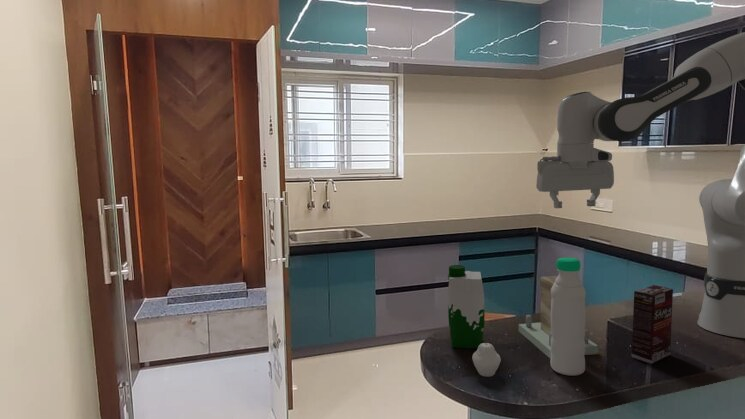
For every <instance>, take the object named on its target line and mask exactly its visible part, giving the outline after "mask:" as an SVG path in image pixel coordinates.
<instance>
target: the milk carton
mask: <svg viewBox="0 0 745 419" xmlns="http://www.w3.org/2000/svg"><path fill="white" fill-rule="evenodd" d="M465 268H466V266H465V265H460V264H458V265H457V264H454V265H449V266H448V290H447V309H448V311H447V314H448V327H449V335H450V341H451V347H452V348H455V349H456V348H459V349H461V348H462V349H478V346H479V345H480V344H482V343H483V337H484V332H485V291H484V285H483V280H482V279H483V278H482V274H481V271H470V270H466V269H465Z"/></svg>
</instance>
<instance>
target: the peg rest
mask: <svg viewBox="0 0 745 419" xmlns="http://www.w3.org/2000/svg"><path fill="white" fill-rule="evenodd" d="M532 318H533V316H532V315H531V314H526V316H525V323H518V332H519V333H520V334H521V335H522V336H523V337H524V338H526V339H527V340H528V341H529V342H530V343H531V344H533V345H534V346H535V347H536V348H537V349H539V351H541V352H542V353H543V354H544V355H546V357H548V358H549V359H551V337H552V334H551V332H550V333H549V335H548V334H546V333H545V332H544V331H543V330H541V321H540V322H532V321H533V319H532ZM589 332H590V331H589V330H588V329H585V337H584V341H585V354H584V356H589V355H598V354H599V345H598V344H596V343H595V342H593V341H591V339H590V338H589Z"/></svg>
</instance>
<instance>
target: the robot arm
mask: <svg viewBox="0 0 745 419" xmlns="http://www.w3.org/2000/svg"><path fill="white" fill-rule="evenodd" d="M736 83H738V85H739V86H740V87H741V88H742V90H744V91H745V32H741V33H737V34H734V35H731V36H728V37H726V38H724V39H721V40H719V41H717V42H715V43H712V44H710V45H709V46H707V47H705V48H703V49H702V50H699V51H698V52H696V53H694V54H692V55H691V56H689V57H688V58H687V59H686V60H684V61H683V62H682V63H680V64H679V65H678V66H677V67H676V68H675V71H674V74H673V77H672V78H670V79H669V80H667V81H666V82H663V83H662V84H660V85H658V86H656V87H654V88H652V89H650V90H649V91H647V92H645V93H643V94H640V95H638V96H634V97H631V96H630V97H624V98H619V99H615V100H614V101H612V102H611V101H608V100H605V99H603V98H601V97H597V96H596V95H594V94H593V93H591V91H580V92H576V93H573V94H569V95H567V96H565V97H563V99H561V100H560V101H559V105H558V109H557V110H558V111H557V120H556V121H557V126H556V128H557V129H556V130H557V132H558V140H557V143H556V145H557V146H556V149H557V150H556V155H555V156H543V157H542V158H540V159H539V160H538V162H537V166H536V168H537V175H536V189H537V190H538V191H539V192H542V193H546V192H548V193H549V197H550V198H551V200H552V202H553V209H562V208H563V201H560V200H559V198H558V196H559V192H569V191H570V192H571V191H587V190H588V191H589V190H590V194H591V195H590V197H589V198H588V199H586V206H587V207H596V201H597V199H598V197H599V196H600V194H601V190H608V189H609V190H610V189H612V187H613V186H614V184H615V172H614V166H613V163H612V162H611V161H613V160H612V159H613V154H612V153H611V152H609V151H606V150H602V149H599V148H596V147H594V142H595V140H599V141H603V142H628V141H631V140H634V139H636V138H638V137H639V136H640V135H641V134H642V133H643V132H644V131H645V130H646V129H647V128H648V127H649V125H650V124H651V123H652V122H653V121H654V120H655V119H657V118H659V117H660V116H662V115H664V114H666V113H668V112H669V111H671V110H673V109H676V108H677V107H679V106H680V105H682V104H684V103H686V102H689V101H692V100H693V101H694V100H695V101H697V100H700V99H702V98H706V97H709V96H712V95H714V94H716V93H718V92H721V91H723V90H725V89H727V88H729V87H731V86H733V85H734V84H736ZM698 200H699V201H698V202H699V205H700V207H701V209H702V213H703V215H702V216H703V221H704V228H705V234H706V241H707V242H706V243H707V257H706V258H707V259H706V260H707V263H706V264H707V265H706V267H707V268H706V272H705V273H704V279H703V280H704V281H703V282H704V283H703V285H704V289H705V290H704V295H703V301H702V305H701V309H700V310H701V311H700V312H699V314H698V318H697V321H696V322H697V325H698V326H699V327H701V328H702V329H704V330H706V331H708V332H712V333H715V334H718V335H722V336H723V335H724V336H727V337H733V338H738V339H745V144H744V145H743V147H742V148H741V149H740V152H739V161H738V163H737V166H736V169H735V172H734V175H733V176H732V178H731V179H730V178H729V179H728V178H726V179H718V180H716V181H713V182H711V183H709V184H706V186H704V187H703V188H702V190H701V191H700V194H699V196H698Z"/></svg>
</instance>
